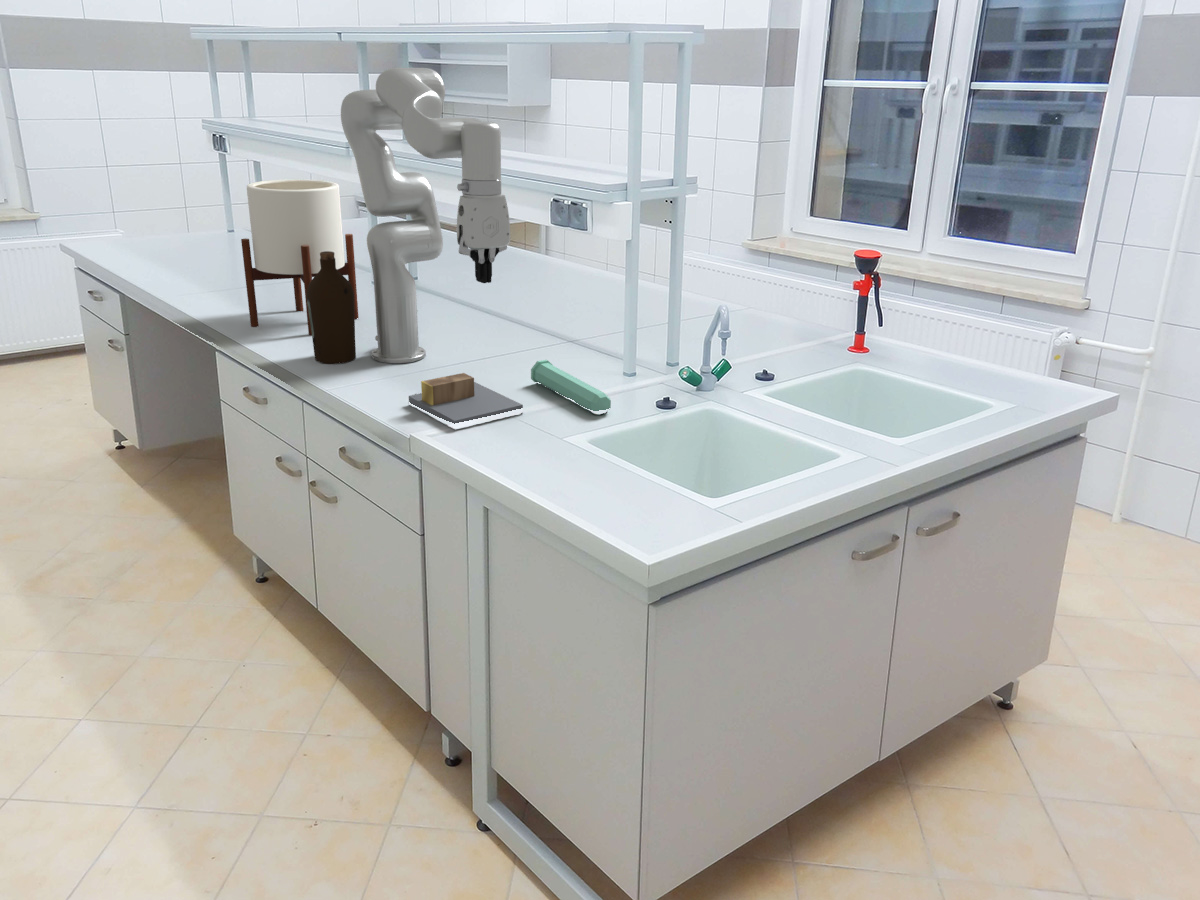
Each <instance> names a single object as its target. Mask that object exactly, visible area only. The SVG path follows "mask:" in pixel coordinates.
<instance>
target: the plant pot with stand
mask: <svg viewBox="0 0 1200 900" xmlns="http://www.w3.org/2000/svg"><path fill="white" fill-rule="evenodd" d="M340 194H341V193H340V185H339V184H338V183H336V182H334V181H328V180H319V179H304V178H303V179H299V178H298V179H296V178H295V179H294V178H292V179H291V178H290V179H270V180H262V181H255V182H251V183H249V184H247V185H246V195H247V204H248V212H249V221H250V222H249V223H250V230H251V231H250V232H251V240H252V250H251V245H250V243H251V242H250V239H249V238H241V240H240V243H241V250H242V257H243V259H242V260H243V267H244V269H243V270H244V276H245V277H244V278H245V287H246V294H247V296H246V297H247V302H248V303H247V304H248V312H249V320H250V321H249V322H250V327H251V328H257V326H258V327H259V325H260V324H259V315H258V308H257V299H256V289H255V281H268V280H285V279H292V281H293V293H294V304H295V311H296V312H297V311H302V312H304V301H303V300H304V299H303V292H302V291H303V290H302V283H303V285H304V287H303V288H304V296H305V297H304V298H305V307H306V308H305V310H306V317H307V318H306V320H307V321H306V322H307V331H308V332H307V333H308V336H310V337H312V332H311V325H310V318H309V311H308V304H307V288H308V285H309V283H310V282H311V281H312V279H313V278H314V277H315V276H316V275H317V273H318V272H319V271H320V269H321V265H320V258H321V256H320V253H321V252H325V251H330V252H334V258H335V263H336V269H337V270H338V271H339V272H340V273H341V274H342V275H343V276H347V280H348V281H349V282H350V284H351V286H352V288H353V291H354V313H355V320H358V319H359V306H358V304H359V303H358V291H357V279H356V278H357V276H356V275H357V274H356V262H355V260H356V259H355V249H354V247H355V246H354V236H353V233H345V235H344V236H345V240H344V237H343V220H342V210H341V196H340ZM344 241H345V248H344ZM344 249H345V250H344ZM251 251H253V258H254V259H253V260H254V267H253V260H252V255H251V254H252V253H251ZM345 251H346V262H345ZM357 318H358V319H357Z"/></svg>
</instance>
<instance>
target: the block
mask: <svg viewBox="0 0 1200 900" xmlns="http://www.w3.org/2000/svg"><path fill="white" fill-rule="evenodd" d="M474 382H475V378H474V377H473V376H471V375H469V374H467V373H465V372H462V373H457V374H452V375H447V376H442V377H437V378H432V379H425V380H422V381H420V384H421V387H420V388H421V393H422V400H423V401H425V402H426V403H428V404H430V405H436V404H441V403H445V402H450V401H455V400H459V399H464V398H469V397H473V396H474Z"/></svg>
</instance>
